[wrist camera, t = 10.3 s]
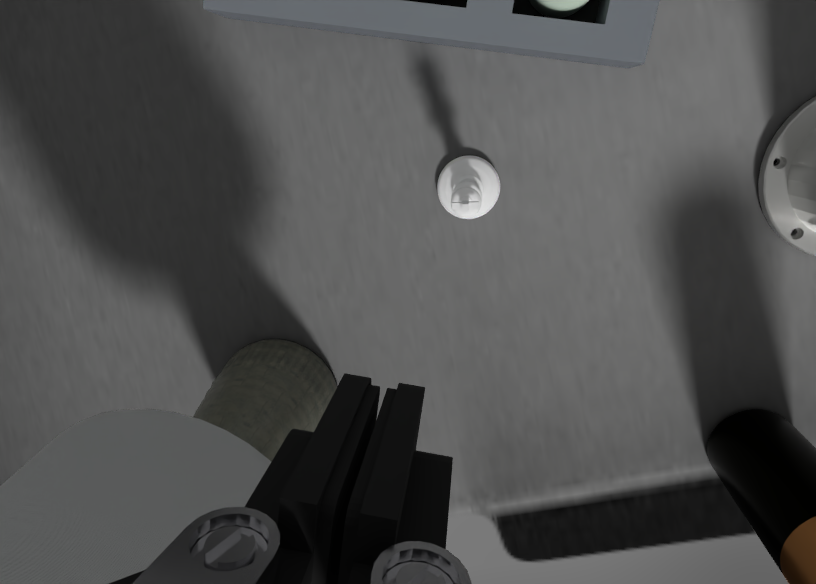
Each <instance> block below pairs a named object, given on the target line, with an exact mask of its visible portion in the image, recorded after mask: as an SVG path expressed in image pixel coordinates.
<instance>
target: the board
mask: <svg viewBox="0 0 816 584" xmlns="http://www.w3.org/2000/svg"><path fill="white" fill-rule="evenodd" d="M659 1H660V0H600V3H599V8H598V13H597V17H596V22H595V23H588V22H580V21H571V20H563V19H555V18H546V17H538V16H529V15H521V14H513V13H512V10H513V4H514V0H467V6H466V8H463V7H454V6H446V5H437V4H429V3H421V2H412V1H404V0H203V9H205V10H208V11H210V12H213V13H216V14H218V15H221V16H224V17H226V18H231V19H239V20H247V21H255V22H263V23H271V24H279V25H287V26H295V27H303V28H311V29H319V30H327V31H335V32H343V33H351V34H359V35H367V36H375V37H383V38H391V39H399V40H407V41H415V42H423V43H431V44H439V45H447V46H455V47H463V48H471V49H479V50H487V51H495V52H503V53H511V54H519V55H527V56H535V57H543V58H551V59H559V60H567V61H575V62H583V63H591V64H599V65H607V66H615V67H623V68H632V67H635V66H638V65H642V64H644V63H645V59H646V55H647V51H648V47H649V42H650V38H651V34H652V30H653V26H654V22H655V18H656V14H657V9H658V5H659Z"/></svg>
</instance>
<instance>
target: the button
mask: <svg viewBox="0 0 816 584" xmlns="http://www.w3.org/2000/svg"><path fill="white" fill-rule="evenodd" d="M529 1H530V3H531V5H532V6H533V7H534V8H535V9H536V10H537V11H538V12H539V13H541V14H542V15H544V16H547V17H551V18H563V17H567V16H570V15H572V14H574V13H576V12H577V11H579V10H580V9H581V8H582V7H583V6H584V5H585V4H586V3H587V2H588V1H589V0H529Z"/></svg>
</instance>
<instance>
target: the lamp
mask: <svg viewBox="0 0 816 584" xmlns="http://www.w3.org/2000/svg"><path fill="white" fill-rule="evenodd" d="M336 389H337V384H336V381H335V379H334V377H333V374H332V372H331V371H330V369H329V368H328V367H327V365H326V364H325V363H324V361H323V360H322V359H321V358H319V357H318V356H317V355H316V354H315V353H313V352H312V351H311V350H310V349H308V348H306V347H304V346H302V345H300V344H297V343H295V342H291V341H287V340H282V339H264V340H261V341H258V342H254V343H251V344H248V345H247V346H245V347H244V348H242V349H241V350H239V351H238V352H236V353H235V354H234V355H233V356H232V358H231V359H230V360H229V361H228V362H227V364H226V365H225V366H224V367H223V369H222V371H221V373H220V374H219V375H218V376H217V378H216V379H215V380H214V381H213V383H212V385H211V388H210V389H209V390H208V392H207V393H206V396H205V398H204V399H203V401H202V402H201V404H200V406H199V407H198V409H197V411H196V413H195V415H194V417H191V416H187V415H184V414H180V413H176V412H170V411H163V410H156V409H122V410H116V411H110V412H104V413H100V414H97V415H95V416H92V417H89V418H86V419H83V420H81V421H79V422H77V423H76V424H74V425H72V426H71V427H69V428H67V429H65V430H64V431H62V432H61V433H60V434H59V435H58V436H56V437H55V438H54V439H53V440H52V441H51V442H50V443H48V444H47V445H46V446H45V447H44V448H43V449H42V450H40V451H39V452H38V453H37V454H36V455H35V456H34V457H33V458H31V459H30V460H29V461H28V462H27V463H26V464H25V465H24V466H22V467H21V468H20V469H19V470H18V471H17V472H16V473H15V474H13V475H12V476H11V477H10V478H9V479H8V480H7V481H6V482H4V483H3V484H2V485H1V486H0V584H109V583H112V582H114V581H117V580H119V579H122V578H125V577H127V576H130V575H133V574H135V573H138V572H141V571H143V570H146V569H147V568H148V567H149V566H150V565H151V563H152V562H153V561H154V560H155V559H156V558H157V557H158V556H159V555H160V554H161V553H162V552H163V551H164V550H165V549H166V548H167V547H168V546H169V545H170V544H171V543H172V541H173V540H174V539H175V538H176V537H177V536H178V535H179V534H180V533H181V532H182V531H183V530H184V529H185V528H186V527H187V526H188V525H189V524H190V523H192V522H193V521H194V520H195V519H197V518H198V517H200V516H202V515H204V514H206V513H208V512H210V511H213V510H217V509H222V508H226V507H245V505H246V503H247V502H248V500H249V498H250V497H251V495H252V493H253V492H254V490H255V488H256V487H257V485H258V483H259V482H260V480H261V478H262V477H263V475H264V473H265V472H266V470H267V468H268V467H269V465H270V463H271V462H272V460H273V458H274V457H275V455H276V453H277V452H278V450H279V448H280V447H281V445H282V443H283V442H284V440H285V438H286V437H287V435H288V433H289V432H290V431H291V429H299V430H305V431H310V432H314V431H315V429H316V427H317V425H318V423H319V421H320V419H321V417H322V416H323V414H324V412H325V410H326V408H327V406H328V404H329V402H330V400H331V398H332V396H333V394H334V393H335V391H336Z"/></svg>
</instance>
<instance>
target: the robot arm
mask: <svg viewBox="0 0 816 584" xmlns="http://www.w3.org/2000/svg"><path fill="white" fill-rule="evenodd" d="M775 159H777V163H776V164H775V165H773V162H774V160H775ZM758 187H759V200H760V204H761V208H762V211H763V214H764V216H765V218H766V220H767V222H768V223H769V225H770V227H771V228H772V229H773V230H774V231H775V233H776V234H777V235H778V236H779V237H780V238H781V239H783V240H784V241H785V242H787V243H788V244H789V245H791V246H792V247H794V248H796V249H798V250H801V251H803V252H805V253H808V254H811V255H813V256H816V96H815V97H813V98H812V99H810V100H809V101H807V102H806V103H804V104H803V105H802V106H801V107H799V108H798V109H797V110H796V111H795V112H794V113H793V114H791V115H790V116H789V117H788V118H787V120H786V121H785V122H784V123H783V125H782V126H781V127H780V128H779V129H778V131H777V132H776V134H775V135H774V137H773V139H772V140H771V142H770V144H769V146H768V147H767V150H766V152H765V155H764V158H763V161H762V163H761V168H760V174H759V180H758ZM793 229H794V232H793V233H792V234H791V232H792V230H793ZM424 392H425V387H420V386H414V385H409V384H403V383H399V384H398V388H397V390H396V389H391V388H387V391H386V394H385V397H384V400H383V403H382V406H381V409H380V412H379V415H378V418H377V410H378V402H379V394H380V387H379V386H373V385H371V378H368V377H362V376H356V375H351V374H344V375H343V377H342V379H341V381H340V383H339V385H338V387H337V389H336V391H335V393H334V394H333V396H332V398H331V400H330V402H329V404H328V406H327V408H326V410H325V412H324V414H323V416H322V417H321V419H320V421H319V423H318V425H317V427H316V429H315V431H314V432H310V431H305V430H299V429H291V431H290V432H289V433H288V435H287V437H286V438H285V440H284V442H283V443H282V445H281V447H280V448H279V450H278V452H277V453H276V455H275V457H274V458H273V460H272V462H271V463H270V465H269V467H268V468H267V470H266V472H265V473H264V475H263V477H262V478H261V480H260V482H259V483H258V485H257V487H256V488H255V490H254V492H253V493H252V495H251V497H250V498H249V500H248V502H247V503H246V505H245V507H226V508H222V509H217V510H213V511H210V512H208V513H206V514H204V515H202V516H200V517H198V518H197V519H195V520H194V521H193V522H192V523H190V524H189V525H188V526H187V527H186V528H185V529H184V530H183V531H182V532H181V533H180V534H179V535H178V536H177V537H176V538H175V539H174V540H173V541H172V543H171V544H170V545H169V546H168V547H167V548H166V549H165V550H164V551H163V552H162V553H161V554H160V555H159V556H158V557H157V558H156V559H155V560H154V561H153V562H152V563H151V565H150V566H149V567H148V568H147V569H146V570H143V571H141V572H138V573H135V574H133V575H130V576H127V577H125V578H122V579H119V580H117V581H114V582H112V583H109V584H471V580H470V577H469V574H468V571H467V569H466V568H465V567H464V565H463V564H462V563H461V561H460V560H459V559H458V558H457V557H455V556H454V555H453V554H452V553H450V552H449V551H448V550H446V535H447V523H448V511H449V499H450V486H451V474H452V460H453V458H452V457H448V456H443V455H437V454H432V453H426V452H421V451H416V444H417V438H418V431H419V425H420V418H421V412H422V405H423V399H424ZM376 418H377V421H376Z"/></svg>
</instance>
